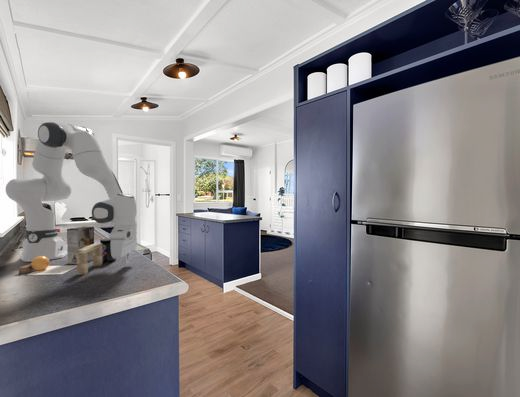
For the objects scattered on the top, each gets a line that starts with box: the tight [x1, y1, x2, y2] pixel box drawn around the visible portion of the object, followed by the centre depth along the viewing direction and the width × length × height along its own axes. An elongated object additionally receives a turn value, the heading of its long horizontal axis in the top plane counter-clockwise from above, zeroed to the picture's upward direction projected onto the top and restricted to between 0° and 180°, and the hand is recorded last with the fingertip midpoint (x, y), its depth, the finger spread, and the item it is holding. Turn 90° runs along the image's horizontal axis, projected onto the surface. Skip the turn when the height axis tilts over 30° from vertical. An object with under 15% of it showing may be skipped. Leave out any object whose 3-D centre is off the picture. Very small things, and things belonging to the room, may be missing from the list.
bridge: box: [76, 242, 103, 276], centre depth 116 cm, size 3×15×10 cm, turn 7°
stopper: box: [18, 263, 35, 275], centre depth 114 cm, size 11×2×2 cm, turn 7°
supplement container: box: [99, 237, 117, 264], centre depth 130 cm, size 7×7×10 cm
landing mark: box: [26, 264, 77, 276], centre depth 114 cm, size 13×13×1 cm
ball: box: [30, 256, 51, 271], centre depth 114 cm, size 6×6×6 cm
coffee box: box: [66, 226, 95, 265], centre depth 128 cm, size 9×6×16 cm
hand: (125, 263), depth 118 cm, fingers closed
